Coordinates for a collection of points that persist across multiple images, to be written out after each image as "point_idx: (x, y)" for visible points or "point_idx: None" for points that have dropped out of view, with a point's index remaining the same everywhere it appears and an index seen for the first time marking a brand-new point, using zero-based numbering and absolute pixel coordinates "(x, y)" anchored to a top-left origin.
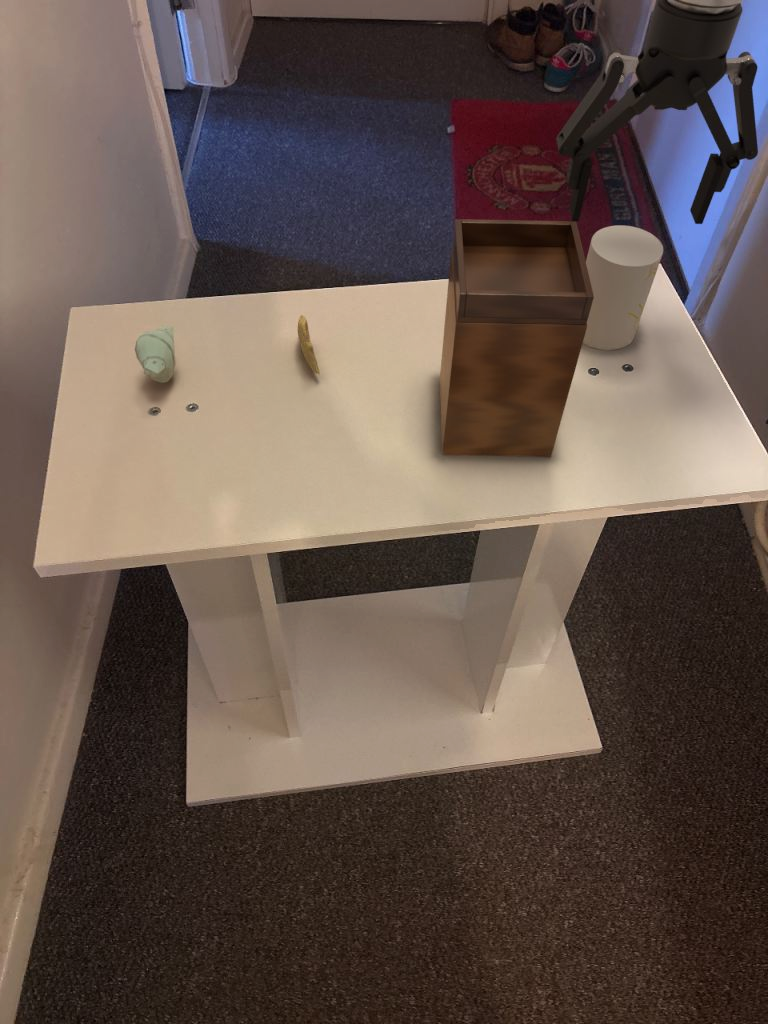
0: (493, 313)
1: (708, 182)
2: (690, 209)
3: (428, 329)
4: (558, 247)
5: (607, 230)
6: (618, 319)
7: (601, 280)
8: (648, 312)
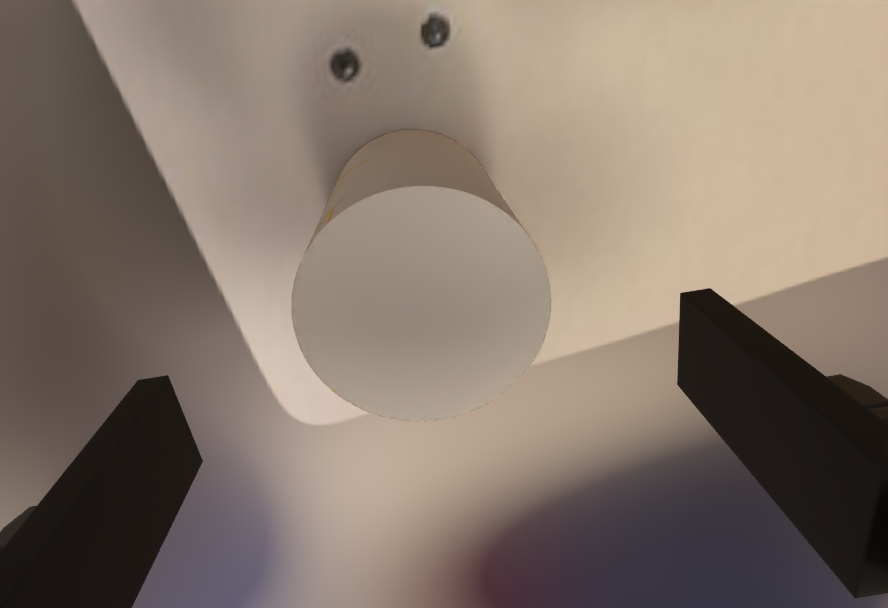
0: None
1: (86, 533)
2: (200, 462)
3: (845, 128)
4: None
5: (490, 383)
6: (395, 147)
7: (487, 188)
8: None
